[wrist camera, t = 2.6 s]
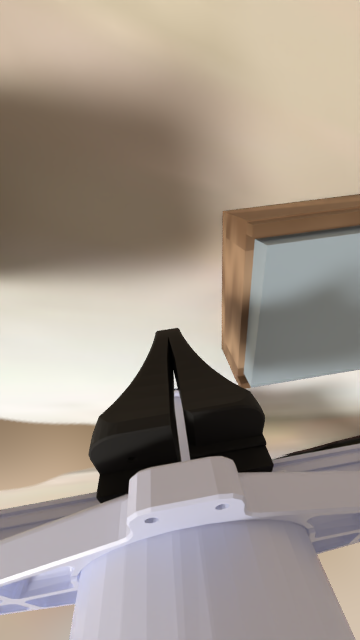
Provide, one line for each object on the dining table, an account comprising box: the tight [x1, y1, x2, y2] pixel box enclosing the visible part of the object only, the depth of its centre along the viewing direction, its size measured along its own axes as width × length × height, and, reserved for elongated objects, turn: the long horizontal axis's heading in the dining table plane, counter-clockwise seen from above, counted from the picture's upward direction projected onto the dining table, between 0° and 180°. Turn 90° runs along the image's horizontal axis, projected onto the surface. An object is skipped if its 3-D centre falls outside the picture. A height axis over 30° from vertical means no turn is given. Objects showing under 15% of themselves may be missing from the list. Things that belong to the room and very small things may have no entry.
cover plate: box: [244, 225, 360, 388], centre depth 14 cm, size 10×11×2 cm
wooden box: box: [222, 194, 360, 389], centre depth 17 cm, size 12×13×5 cm
